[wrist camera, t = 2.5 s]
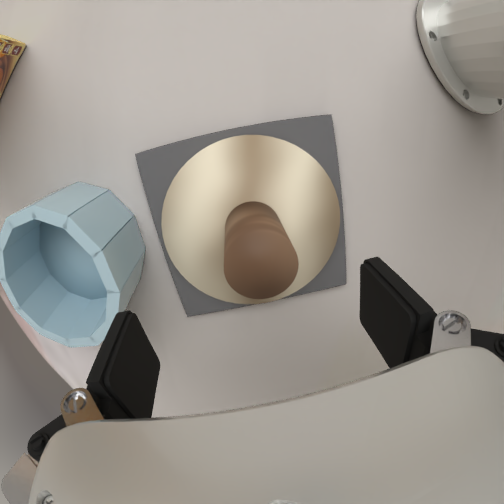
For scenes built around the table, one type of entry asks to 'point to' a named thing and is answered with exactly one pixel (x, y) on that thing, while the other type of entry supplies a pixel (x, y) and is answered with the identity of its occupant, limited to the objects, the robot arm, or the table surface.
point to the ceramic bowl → (71, 263)
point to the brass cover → (250, 219)
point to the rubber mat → (177, 154)
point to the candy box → (8, 58)
